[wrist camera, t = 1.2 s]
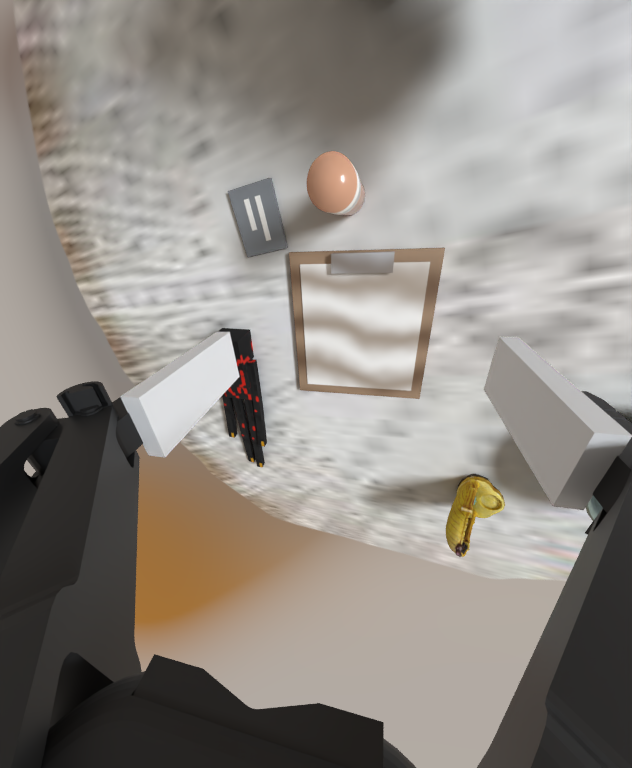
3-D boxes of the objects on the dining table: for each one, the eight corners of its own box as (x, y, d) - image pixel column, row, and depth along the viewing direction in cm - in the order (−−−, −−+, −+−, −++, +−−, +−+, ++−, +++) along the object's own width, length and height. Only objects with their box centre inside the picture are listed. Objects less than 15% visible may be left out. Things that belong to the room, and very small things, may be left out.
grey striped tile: (229, 191, 37) (227, 191, 36) (271, 178, 35) (269, 177, 34) (249, 256, 40) (247, 257, 40) (287, 247, 39) (286, 248, 38)
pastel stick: (332, 177, 34) (304, 153, 22) (366, 174, 33) (357, 147, 21) (332, 216, 36) (307, 214, 24) (364, 215, 35) (355, 211, 23)
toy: (276, 455, 62) (256, 329, 46) (268, 473, 58) (244, 341, 42) (241, 450, 64) (210, 327, 48) (231, 467, 60) (194, 338, 43)
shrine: (426, 488, 56) (439, 567, 43) (444, 461, 51) (464, 539, 39) (484, 506, 55) (514, 592, 42) (507, 479, 50) (549, 566, 38)
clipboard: (290, 252, 39) (286, 253, 37) (443, 247, 35) (446, 248, 33) (301, 387, 50) (298, 393, 48) (418, 396, 46) (420, 402, 44)
